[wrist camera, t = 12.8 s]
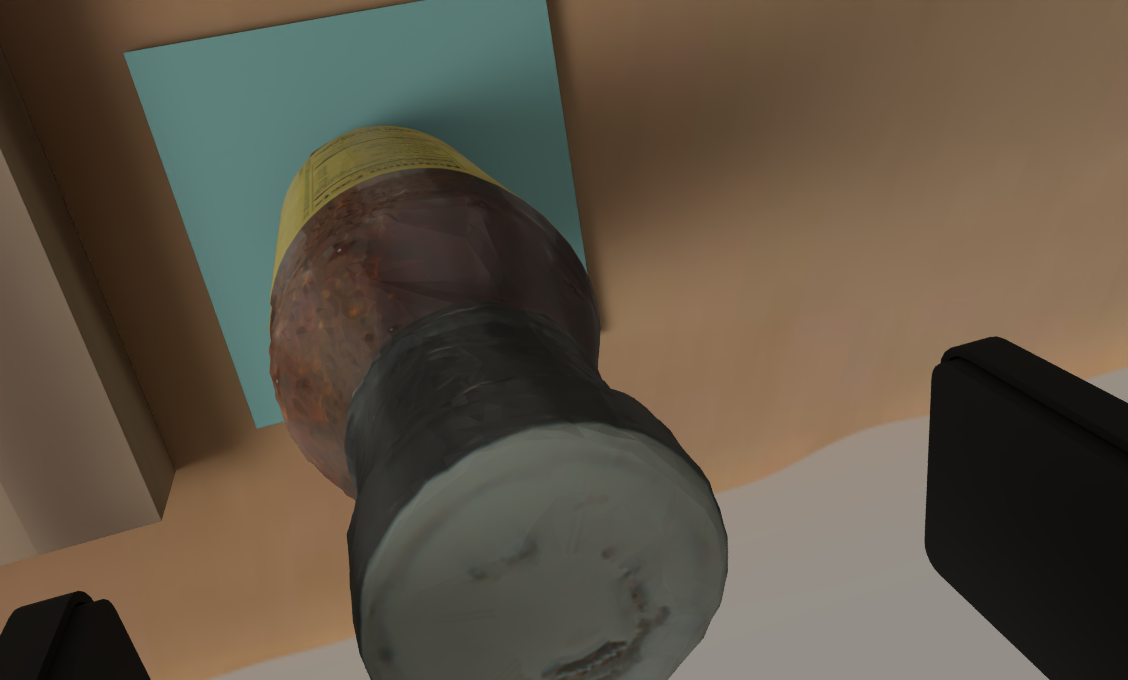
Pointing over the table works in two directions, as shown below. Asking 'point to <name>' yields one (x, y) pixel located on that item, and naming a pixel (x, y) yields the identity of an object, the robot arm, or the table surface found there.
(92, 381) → the pocket block
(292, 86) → the teal mat
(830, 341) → the table surface
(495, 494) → the sauce bottle
